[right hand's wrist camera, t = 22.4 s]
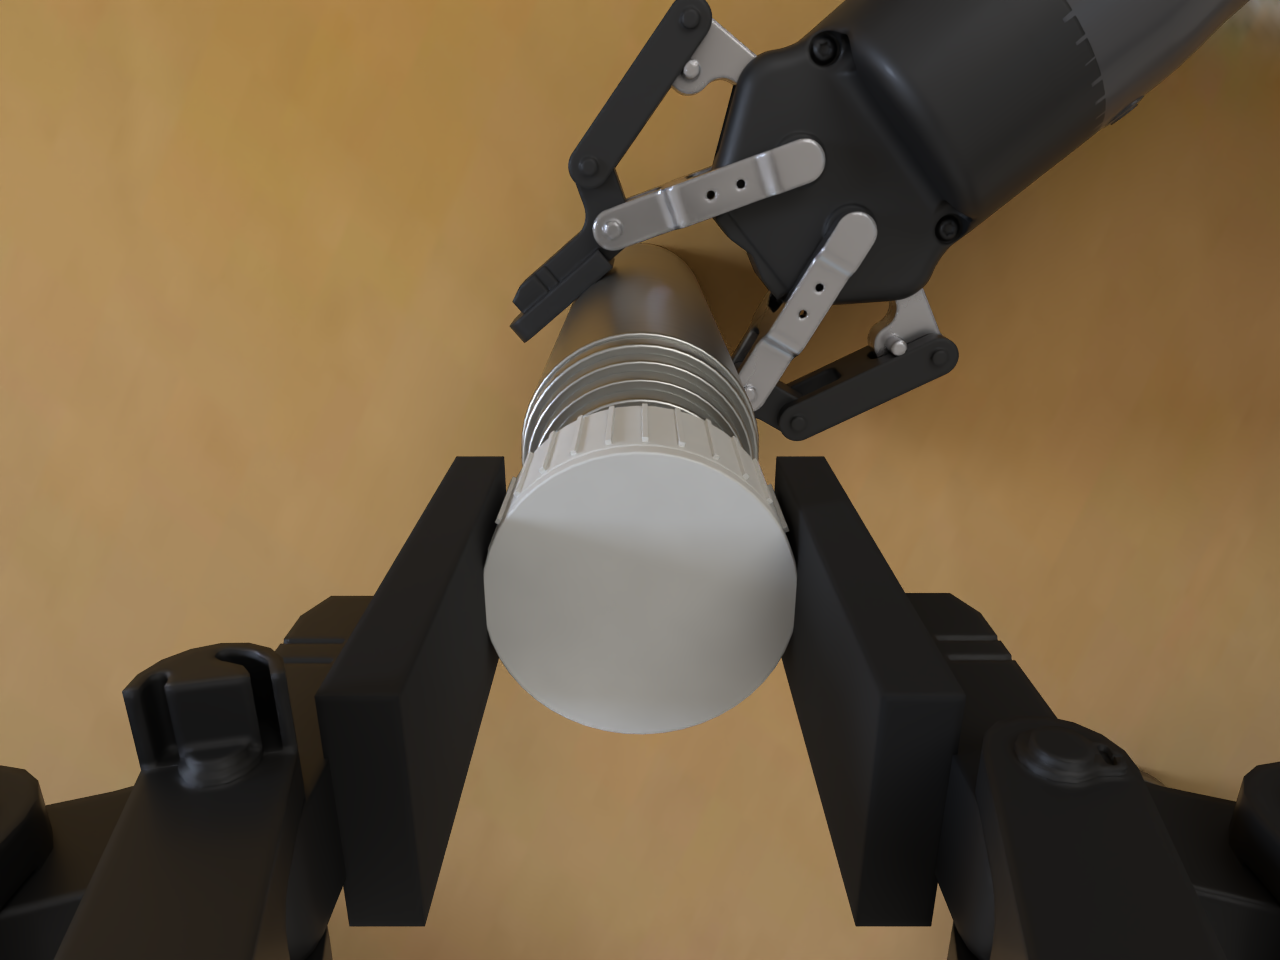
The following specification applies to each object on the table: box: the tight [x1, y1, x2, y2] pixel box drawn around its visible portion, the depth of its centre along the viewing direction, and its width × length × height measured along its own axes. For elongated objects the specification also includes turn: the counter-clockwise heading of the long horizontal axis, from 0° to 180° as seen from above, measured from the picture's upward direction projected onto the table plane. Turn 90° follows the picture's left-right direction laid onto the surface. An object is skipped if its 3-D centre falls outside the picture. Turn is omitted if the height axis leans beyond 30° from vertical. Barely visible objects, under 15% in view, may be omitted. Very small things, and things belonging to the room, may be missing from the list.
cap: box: [483, 403, 797, 734], centre depth 13 cm, size 4×4×2 cm
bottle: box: [521, 243, 759, 467], centre depth 24 cm, size 5×5×23 cm
